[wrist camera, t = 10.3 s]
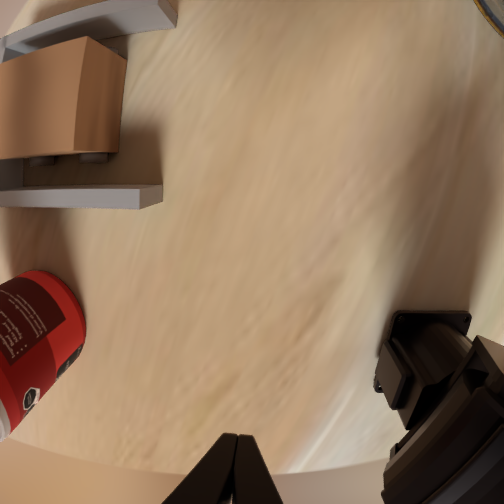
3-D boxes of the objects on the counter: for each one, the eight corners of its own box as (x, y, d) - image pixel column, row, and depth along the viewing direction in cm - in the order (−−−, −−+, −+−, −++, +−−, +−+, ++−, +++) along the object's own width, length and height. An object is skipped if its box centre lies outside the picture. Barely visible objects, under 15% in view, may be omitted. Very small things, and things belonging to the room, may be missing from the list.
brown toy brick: (128, 52, 16) (89, 25, 11) (117, 161, 18) (72, 163, 13) (45, 69, 16) (0, 55, 12) (36, 165, 18) (-13, 170, 14)
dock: (177, 15, 15) (160, -10, 12) (162, 201, 18) (139, 209, 15) (28, 48, 16) (-1, 38, 13) (15, 200, 19) (-17, 207, 16)
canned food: (36, 356, 23) (-38, 427, 12) (7, 270, 21) (-90, 323, 10) (102, 361, 22) (28, 458, 11) (72, 262, 20) (-42, 330, 9)
